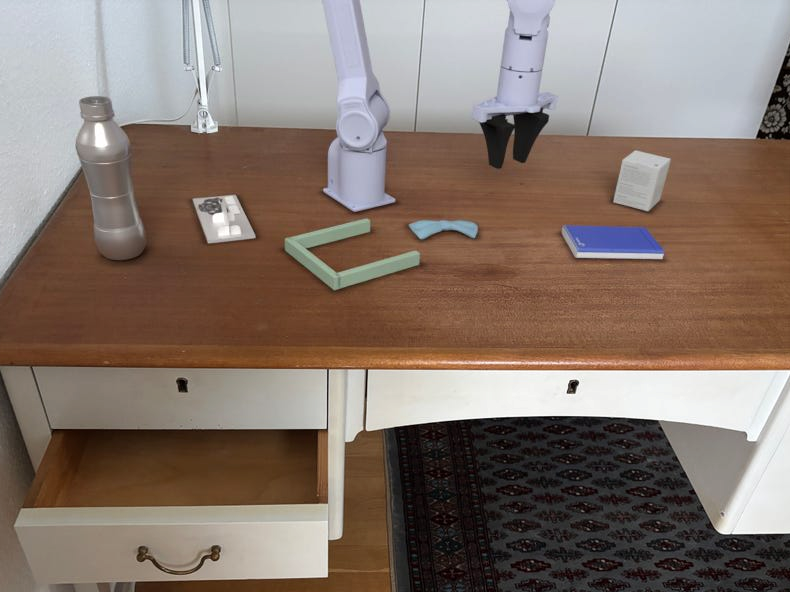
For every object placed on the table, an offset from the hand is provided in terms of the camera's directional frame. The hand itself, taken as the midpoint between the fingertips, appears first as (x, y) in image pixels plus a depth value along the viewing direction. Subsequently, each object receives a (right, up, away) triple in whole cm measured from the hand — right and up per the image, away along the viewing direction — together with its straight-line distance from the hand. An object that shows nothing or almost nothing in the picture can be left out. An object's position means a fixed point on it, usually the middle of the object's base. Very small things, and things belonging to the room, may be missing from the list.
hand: (507, 163), depth 106 cm
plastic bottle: (-53, -15, -11) cm, 56 cm away
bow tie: (-9, -10, 0) cm, 14 cm away
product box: (+23, -3, +12) cm, 26 cm away
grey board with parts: (-42, -8, 0) cm, 43 cm away
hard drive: (+15, -13, -2) cm, 19 cm away
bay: (-22, -15, -8) cm, 28 cm away
